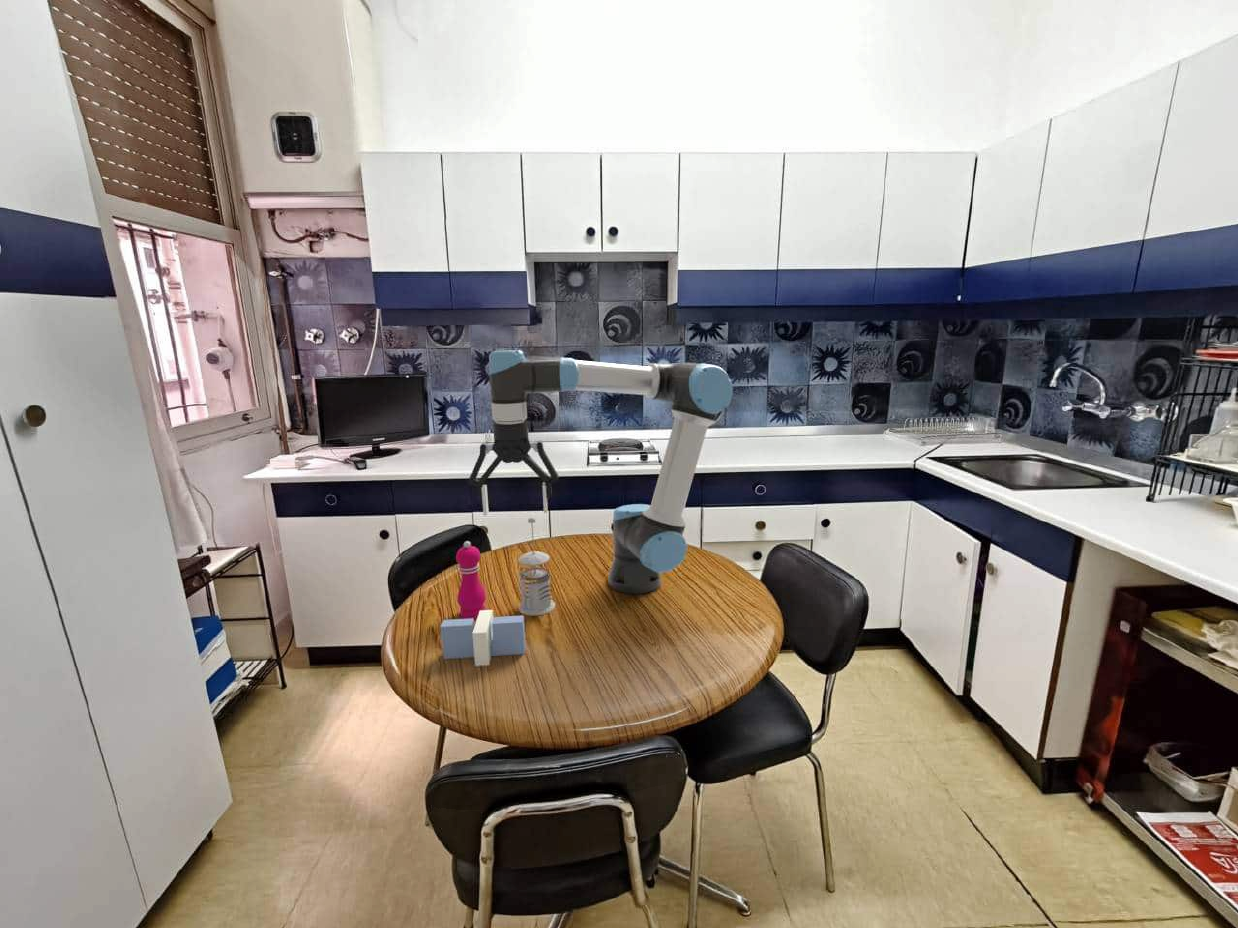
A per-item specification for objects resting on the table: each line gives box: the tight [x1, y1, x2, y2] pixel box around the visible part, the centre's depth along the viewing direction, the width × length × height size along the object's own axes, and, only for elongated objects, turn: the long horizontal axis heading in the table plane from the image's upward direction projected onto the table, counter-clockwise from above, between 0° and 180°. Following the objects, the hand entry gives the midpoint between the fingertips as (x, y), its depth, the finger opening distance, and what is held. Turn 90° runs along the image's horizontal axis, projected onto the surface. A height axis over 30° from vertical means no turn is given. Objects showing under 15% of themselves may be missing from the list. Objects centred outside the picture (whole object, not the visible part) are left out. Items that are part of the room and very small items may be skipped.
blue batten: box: [440, 614, 527, 660], centre depth 123 cm, size 18×3×8 cm, turn 95°
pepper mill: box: [455, 540, 487, 619], centre depth 140 cm, size 7×7×20 cm
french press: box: [517, 516, 556, 617], centre depth 142 cm, size 10×12×25 cm
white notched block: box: [472, 609, 494, 667], centre depth 123 cm, size 10×3×8 cm, turn 5°
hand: (516, 512), depth 126 cm, fingers open, 13 cm apart
